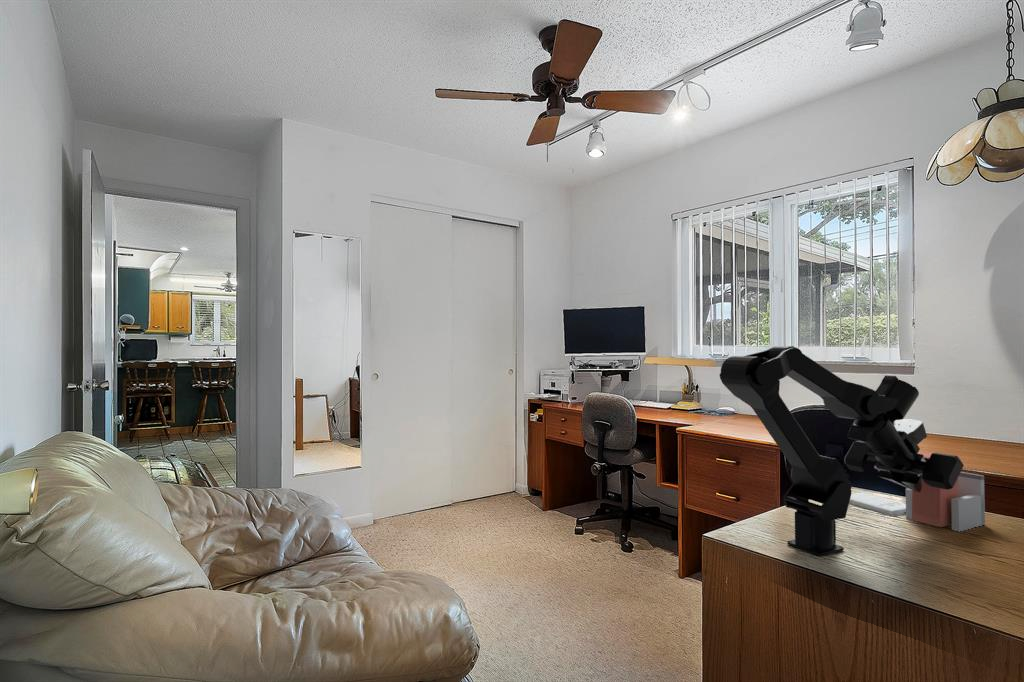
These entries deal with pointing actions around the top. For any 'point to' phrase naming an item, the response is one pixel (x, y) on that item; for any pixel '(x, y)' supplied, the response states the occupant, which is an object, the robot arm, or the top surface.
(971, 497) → the socket block
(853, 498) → the external hard drive
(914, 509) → the pink rectangular block
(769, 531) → the top surface
